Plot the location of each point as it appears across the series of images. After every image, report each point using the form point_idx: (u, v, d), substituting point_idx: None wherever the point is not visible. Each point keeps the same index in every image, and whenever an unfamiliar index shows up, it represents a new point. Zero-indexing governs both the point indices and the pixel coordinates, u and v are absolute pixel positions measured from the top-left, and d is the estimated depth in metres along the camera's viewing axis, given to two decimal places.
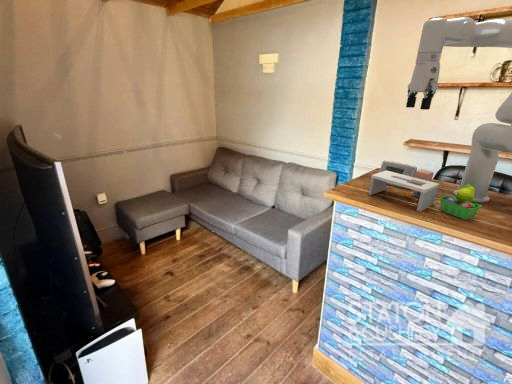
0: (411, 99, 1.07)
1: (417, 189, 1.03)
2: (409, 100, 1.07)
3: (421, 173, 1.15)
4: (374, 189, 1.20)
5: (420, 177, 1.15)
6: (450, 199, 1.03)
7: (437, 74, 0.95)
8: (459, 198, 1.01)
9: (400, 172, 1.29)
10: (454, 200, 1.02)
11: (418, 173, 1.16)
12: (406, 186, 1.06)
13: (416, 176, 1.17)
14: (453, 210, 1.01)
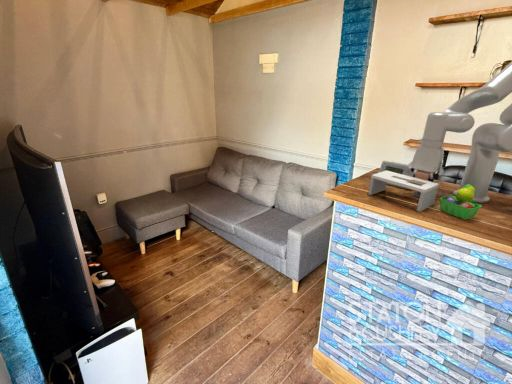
0: None
1: (417, 189, 1.03)
2: None
3: (421, 173, 1.15)
4: (374, 189, 1.20)
5: (420, 177, 1.15)
6: (450, 199, 1.03)
7: None
8: (459, 198, 1.01)
9: (399, 172, 1.29)
10: (454, 200, 1.02)
11: (418, 173, 1.16)
12: (406, 186, 1.06)
13: (416, 176, 1.17)
14: (453, 210, 1.01)
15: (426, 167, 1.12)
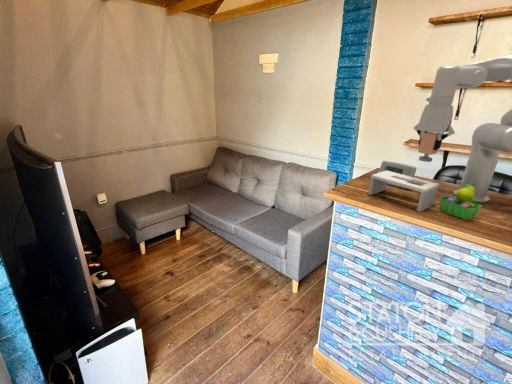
0: None
1: (417, 189, 1.03)
2: None
3: (428, 134, 1.07)
4: (374, 189, 1.20)
5: (427, 139, 1.08)
6: (450, 199, 1.03)
7: None
8: (459, 198, 1.01)
9: (399, 172, 1.29)
10: (454, 200, 1.02)
11: (425, 134, 1.08)
12: (406, 186, 1.06)
13: (423, 138, 1.09)
14: (453, 210, 1.01)
15: (434, 127, 1.05)
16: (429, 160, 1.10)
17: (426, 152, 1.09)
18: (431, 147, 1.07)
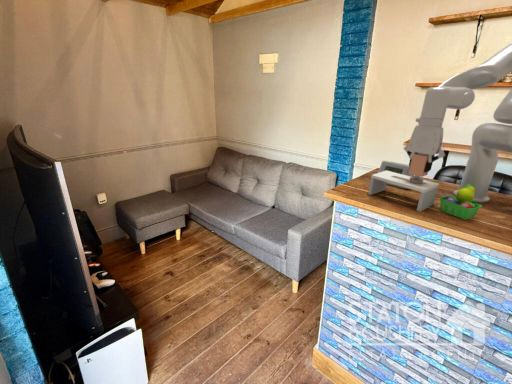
0: None
1: (417, 189, 1.03)
2: None
3: (418, 156, 1.04)
4: (374, 189, 1.20)
5: (417, 160, 1.04)
6: (450, 199, 1.03)
7: None
8: (459, 198, 1.01)
9: (399, 172, 1.29)
10: (454, 200, 1.02)
11: (415, 156, 1.05)
12: (406, 186, 1.06)
13: (413, 159, 1.05)
14: (453, 210, 1.01)
15: (424, 149, 1.01)
16: (420, 182, 1.06)
17: (417, 174, 1.05)
18: (422, 169, 1.04)
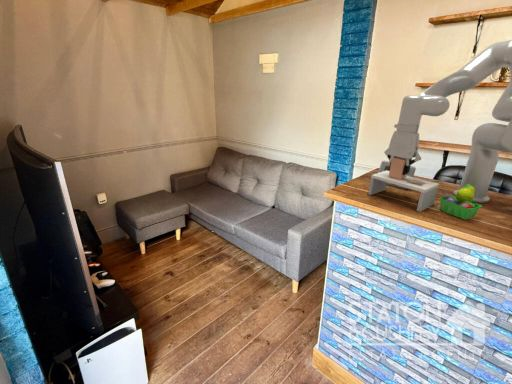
0: None
1: (417, 189, 1.03)
2: None
3: (397, 159, 1.11)
4: (374, 189, 1.20)
5: (396, 164, 1.11)
6: (450, 199, 1.03)
7: None
8: (459, 198, 1.01)
9: None
10: (454, 200, 1.02)
11: (394, 160, 1.12)
12: (406, 186, 1.06)
13: (392, 163, 1.12)
14: (453, 210, 1.01)
15: (402, 153, 1.08)
16: None
17: (396, 176, 1.12)
18: (400, 172, 1.11)
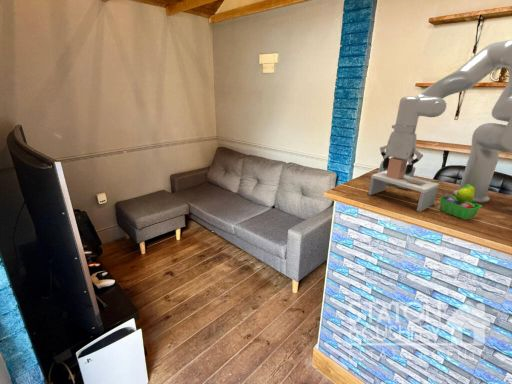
0: None
1: (417, 189, 1.03)
2: None
3: (394, 160, 1.11)
4: (374, 189, 1.20)
5: (394, 164, 1.12)
6: (450, 199, 1.03)
7: None
8: (459, 198, 1.01)
9: None
10: (454, 200, 1.02)
11: (392, 160, 1.12)
12: (406, 186, 1.06)
13: (390, 163, 1.13)
14: (453, 210, 1.01)
15: (399, 154, 1.09)
16: None
17: (393, 177, 1.13)
18: (398, 172, 1.11)
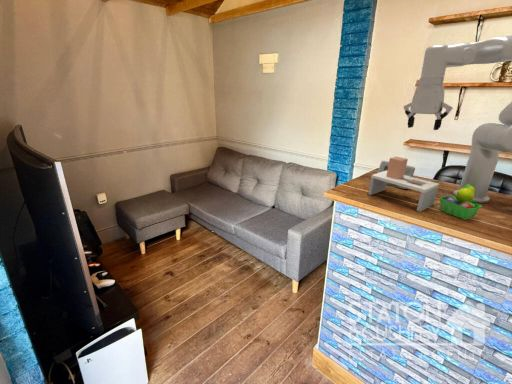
0: None
1: (417, 189, 1.03)
2: None
3: (394, 160, 1.11)
4: (374, 189, 1.20)
5: (394, 164, 1.12)
6: (450, 199, 1.03)
7: None
8: (459, 198, 1.01)
9: None
10: (454, 200, 1.02)
11: (392, 160, 1.12)
12: (406, 186, 1.06)
13: (390, 163, 1.13)
14: (453, 210, 1.01)
15: (426, 109, 1.03)
16: None
17: (393, 177, 1.13)
18: (398, 172, 1.11)
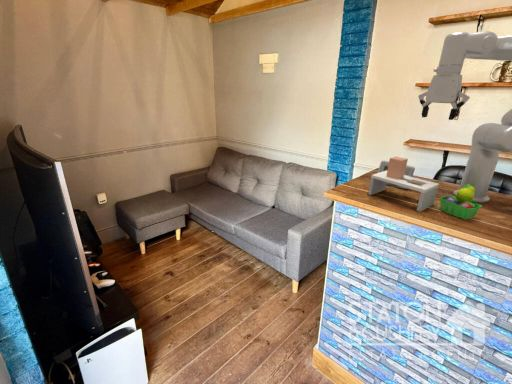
0: None
1: (417, 189, 1.03)
2: None
3: (394, 160, 1.11)
4: (374, 189, 1.20)
5: (394, 164, 1.12)
6: (450, 199, 1.03)
7: None
8: (459, 198, 1.01)
9: None
10: (454, 200, 1.02)
11: (392, 160, 1.12)
12: (406, 186, 1.06)
13: (390, 163, 1.13)
14: (453, 210, 1.01)
15: (442, 97, 1.02)
16: None
17: (393, 177, 1.13)
18: (398, 172, 1.11)
